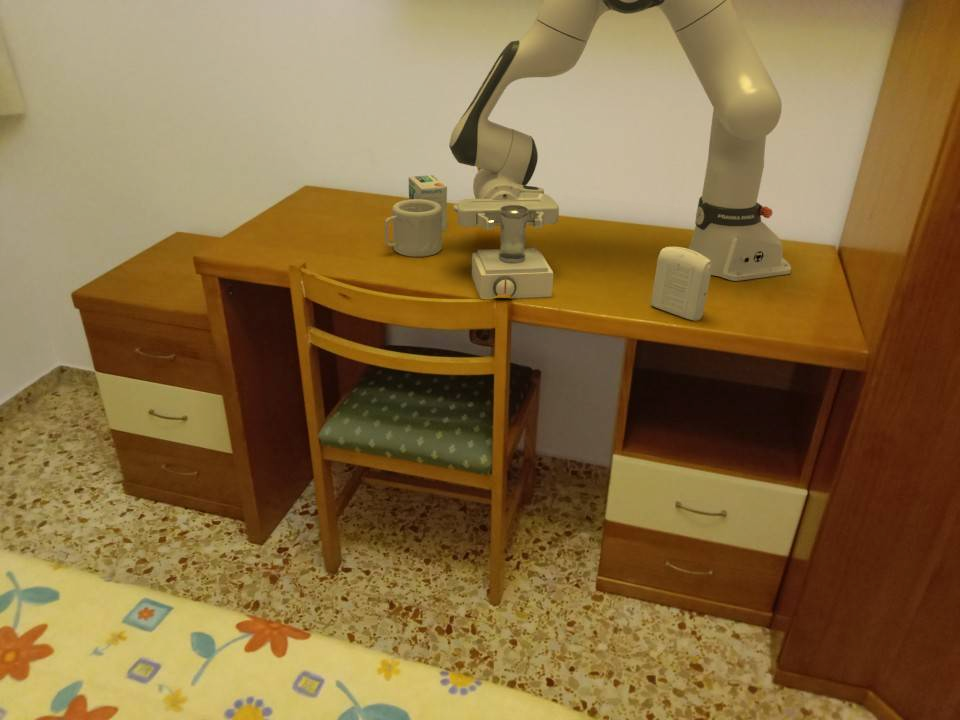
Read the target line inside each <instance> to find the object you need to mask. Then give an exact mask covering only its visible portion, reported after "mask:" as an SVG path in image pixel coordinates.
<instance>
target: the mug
mask: <svg viewBox="0 0 960 720" xmlns="http://www.w3.org/2000/svg"><path fill="white" fill-rule="evenodd" d="M391 211H392V213H391V215H392V216H389V217H387V218H386V219H385V220H384V241H385V242H384V243H385V245H386V246H387V247H388V248H389V247H391V248H393V250H394V251H395V252H396V253H398V254H399V255H401V256H405V257H412V258H422V257H431V256H433V255H436V254H438V253H439V252H440V251H441V250H442V247H443V231H442V207H441V205H440V204H438V203H437V202H434V201H430V200H423V199H411V200H409V199H405V200H399V201H397V202H396V203H394V204H393V206H392V209H391ZM391 221H392V240H393V241H392V242H393V243H390V242H389V240H390V239H389V222H391Z"/></svg>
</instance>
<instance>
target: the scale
mask: <svg viewBox="0 0 960 720" xmlns="http://www.w3.org/2000/svg"><path fill="white" fill-rule="evenodd" d="M499 253H500V248H497V249H495V248H494V249H477V252H472V254H471V277H472V281H473V283H474V285H475V289H476V291H477V293H478V296H479V299H480V298H493V297H495V296H497V295H507V294H509V295H511V297H512V298H511V299H526V298H527V299H529V298H530V299H531V298H551V297H552V296H553V287H554V286H553V285H554V272H553V269H552V268H551V266H550V265H549V263H548V262H547V260H546V258H545V257H544V255H543V254H542V252H541V251H540V250H538V249H537V248H536V247H525V253H524V254H525V261H523V262H521V263H505V262H502V261H500V260H499Z"/></svg>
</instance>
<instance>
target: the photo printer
mask: <svg viewBox="0 0 960 720" xmlns="http://www.w3.org/2000/svg"><path fill="white" fill-rule="evenodd" d="M656 261H657V263H656V268H655V274H654V275H655V276H654V281H653V288H652V293H651V299H650V306H652V307H654V308H656V309H659V310H662V311H665V312H667V313H670V314H673V315H675V316H677V317H681V318H684V319H687V320H691V321H694V322H695V321H700V320H701V319H702V317H703V314H704V310H705V306H706V301H707V297H708V290H709V286H710V281H711V276H712V275H711V271H712V262H711V261H710V260H709V259H708V258H706V257H705V256H703V255H702V254H700V253H698V252H695V251H693V250H690V249H688V248H687V247H682V246H681V247H680V246H665V247H664V248H662V249H660V251H659V254H658V256H657V260H656Z"/></svg>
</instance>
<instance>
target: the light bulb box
mask: <svg viewBox="0 0 960 720" xmlns="http://www.w3.org/2000/svg"><path fill="white" fill-rule="evenodd" d="M447 197H448V185H446V184H445V183H444V182H442V181H441V180H440V179H439V178H438V177H437V176H435V175H434V174H430V175H429V174H428V175H419V176H408V200H411V199H423V200H430V201H434V202H437V203H438V204H440V205H441V207H442V232H443V231H444V232H445V231H447V225H448V224H447V219H448V217H447V215H448V214H447V208H448V205H447V203H448V201H447V200H448V198H447Z"/></svg>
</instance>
